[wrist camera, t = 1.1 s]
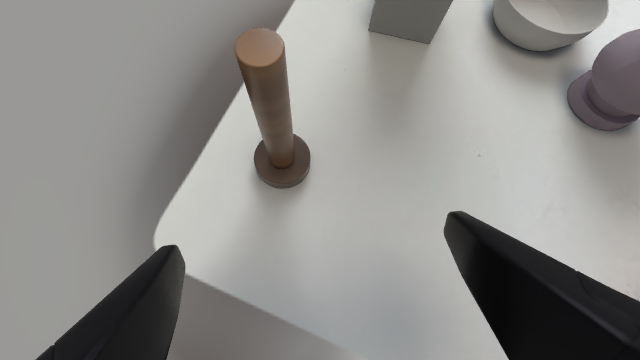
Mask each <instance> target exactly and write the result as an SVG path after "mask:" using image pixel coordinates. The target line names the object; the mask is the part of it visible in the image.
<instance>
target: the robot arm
mask: <svg viewBox="0 0 640 360" xmlns="http://www.w3.org/2000/svg"><path fill="white" fill-rule="evenodd" d="M444 236H445V239H446V241H447V243H448V246H449V248H450V250H451V253H452V255H453V257H454V260H455V262H456V264H457V266H458V269H459V271H460V273H461V275H462V277H463V279H464V281H465V283H466V285H467V286H468V288H469V290H470V292H471V293H472V295H473V297H474V299H475V300H476V302H477V304H478V306H479V307H480V309H481V311H482V313H483V315H484V316H485V318H486V320H487V322H488V323H489V325H490V327H491V329H492V330H493V332H494V334H495V336H496V338H497V339H498V341H499V343H500V345H501V346H502V348H503V350H504V352H505V353H506V355H507V357H508V359H509V360H640V302H639V301H637V300H635V299H633V298H631V297H629V296H627V295H625V294H622V293H620V292H618V291H616V290H614V289H612V288H610V287H608V286H606V285H604V284H602V283H600V282H598V281H596V280H594V279H592V278H590V277H588V276H586V275H584V274H583V273H581V272H579V271H575V270H574V269H573V268H571V267H569V266H567V265H565V264H563V263H561V262H559V261H557V260H555V259H553V258H552V257H550V256H548V255H546V254H544V253H542V252H540V251H538V250H536V249H534V248H532V247H530V246H528V245H526V244H525V243H523V242H521V241H519V240H517V239H515V238H513V237H511V236H509V235H507V234H505V233H503V232H501V231H499V230H498V229H496V228H494V227H492V226H490V225H488V224H486V223H484V222H482V221H480V220H478V219H476V218H474V217H472V216H471V215H469V214H467V213H465V212H463V211H454V212H450V213H449V214H448V215H447V219H446V223H445V227H444ZM184 275H185V262H184V259H183V257H182V255H181V252H180V250H179V248H178V246H177V245H168V246H163V247H161V248H160V249H159V250H157V251H156V252H155V253H154V254H153V255H152V256H151V257H150V258H149V259H147V260H146V261H145V262H144V263H143V264H142V265H141V266H140V267H138V268H137V269H136V270H135V271H134V272H133V273H132V274H131V275H130V276H128V277H127V278H126V279H125V280H124V281H123V282H122V283H121V284H120V285H118V286H117V287H116V288H115V289H114V290H113V291H112V292H111V293H110V294H108V295H107V296H106V297H105V298H104V299H103V300H102V301H101V302H99V303H98V304H97V305H96V306H95V307H94V308H93V309H92V310H91V311H89V312H88V313H87V314H86V315H85V316H84V317H83V318H82V319H81V320H79V322H77V323H76V324H75V325H74V326H73V327H72V328H70V329H69V330H68V331H67V332H66V333H65V334H64V335H63V336H62V337H61V338H59V339H58V340H57V341H56V342H55V344H54V345H53V346H50V347H49V348H48V349H47V350H46V351H45V352H44V353H42V354H41V355H40V356H39V357H38V358H37V359H36V360H166V359H167V355H168V351H169V348H170V344H171V340H172V337H173V333H174V329H175V326H176V322H177V318H178V313H179V307H180V301H181V294H182V287H183V280H184Z"/></svg>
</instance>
